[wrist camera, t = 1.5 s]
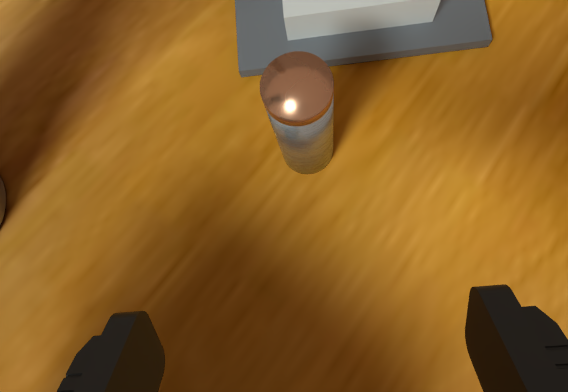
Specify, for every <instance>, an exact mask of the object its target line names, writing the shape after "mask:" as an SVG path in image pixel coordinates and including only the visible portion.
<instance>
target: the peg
mask: <svg viewBox="0 0 568 392" xmlns="http://www.w3.org/2000/svg"><path fill="white" fill-rule="evenodd" d="M260 94H261V97H262V100H263V103H264V105H265V108H266V111H267V113H268V116H269V119H270V122H271V124H272V127H273V130H274V132H275V135H276V138H277V141H278V143H279V146H280V149H281V151H282V154H283V157H284V159H285V162H286V163H287V165H288V166H289V167H290V168H291V169H293V170H294V171H296V172H298V173H301V174H313V173H317V172H319V171H321V170H322V169H324V168H325V167H326V166H327V165H328V164H329V162H330V160H331V158H332V155H333V105H334V81H333V75H332V72H331V70H330V68H329V67H328V65H327V64H326V63H325V62H324V61H323V60H322V59H321V58H320V57H318V56H316V55H314V54H312V53H308V52H303V51H294V52H289V53H285V54H283V55H281V56H279V57H277V58H275V59H274V60H273V61H272V62H271V63H270V64H269V65H268V66H267V67H266V69H265V70H264V72H263V74H262V77H261V81H260Z"/></svg>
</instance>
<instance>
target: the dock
mask: <svg viewBox="0 0 568 392" xmlns="http://www.w3.org/2000/svg"><path fill="white" fill-rule="evenodd" d="M235 9H236V27H237V46H238V64H239V73H240V75H241V77H247V76H255V75H262V74H263V72H264V70H265V69H266V67H267V66H268V65H269V64H270V63H271V62H272V61H273V60H274V59H275V58H277V57H279V56H281V55H283V54H285V53H289V52H294V51H303V52H308V53H312V54H314V55H316V56H318V57H320V58H321V59H322V60H323V61H324V62H325V63H326V64H327V65H328V66H336V65H344V64H352V63H360V62H368V61H376V60H384V59H392V58H400V57H409V56H417V55H425V54H433V53H441V52H449V51H457V50H465V49H473V48H481V47H488V46H489V44H490V42H491V41H492V35H491V30H490V25H489V20H488V16H487V11H486V6H485V1H484V0H235Z"/></svg>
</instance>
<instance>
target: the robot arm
mask: <svg viewBox="0 0 568 392" xmlns="http://www.w3.org/2000/svg"><path fill="white" fill-rule="evenodd" d="M5 207H6V192H5V188H4V184H3V181H2V179H1V177H0V225H1V222H2V219H3V217H4V213H5ZM465 339H466V345H467V349H468V353H469V356H470V359H471V361H472V364H473V366H474V369H475V371H476V374H477V376H478V379H479V382H480V384H481V387H482V389H483V392H568V339H567V338H566V336H565V335H564V333H563V332H562V330H561V329H560V327H559V326H558V324H557V323H556V322H555V321H553V320H552V319H551V318H550V317H549V316H547V315H546V314H545V313H544V312H542V311H541V310H540V309H539V308H537V307H536V306H528V307H521V305H520V304H519V302H518V300H517V299H516V297H515V295H514V293H513V292H512V290H511V289H510V287H509V286H507V285H492V286H479V287H472V288H471V290H470V294H469V302H468V310H467V318H466V326H465ZM164 367H165V355H164V350H163V347H162V345H161V343H160V340H159V338H158V336H157V334H156V331H155V329H154V327H153V325H152V322H151V320H150V318H149V316H148V314H147V313H146V312H145V311H137V312H124V313H115V314H113V315H112V316H111V317H110V319H109V321H108V323H107V325H106V327H105V329H104V331H103V333H102V335H101V336H93V337H92V338H91V339H90V340H89V341H88V342H87V344H86V345H85V346H84V347H83V348H82V349H81V350H80V351H79V352H78V353H77V354H76V356H75V358H74V360H73V362H72V364H71V365H70V367H69V369H68V371H67V373H66V378H64V379H63V381H62V382H61V384H60V386H59V388H58V390H57V392H158V389H159V386H160V383H161V380H162V376H163V373H164Z"/></svg>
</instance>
